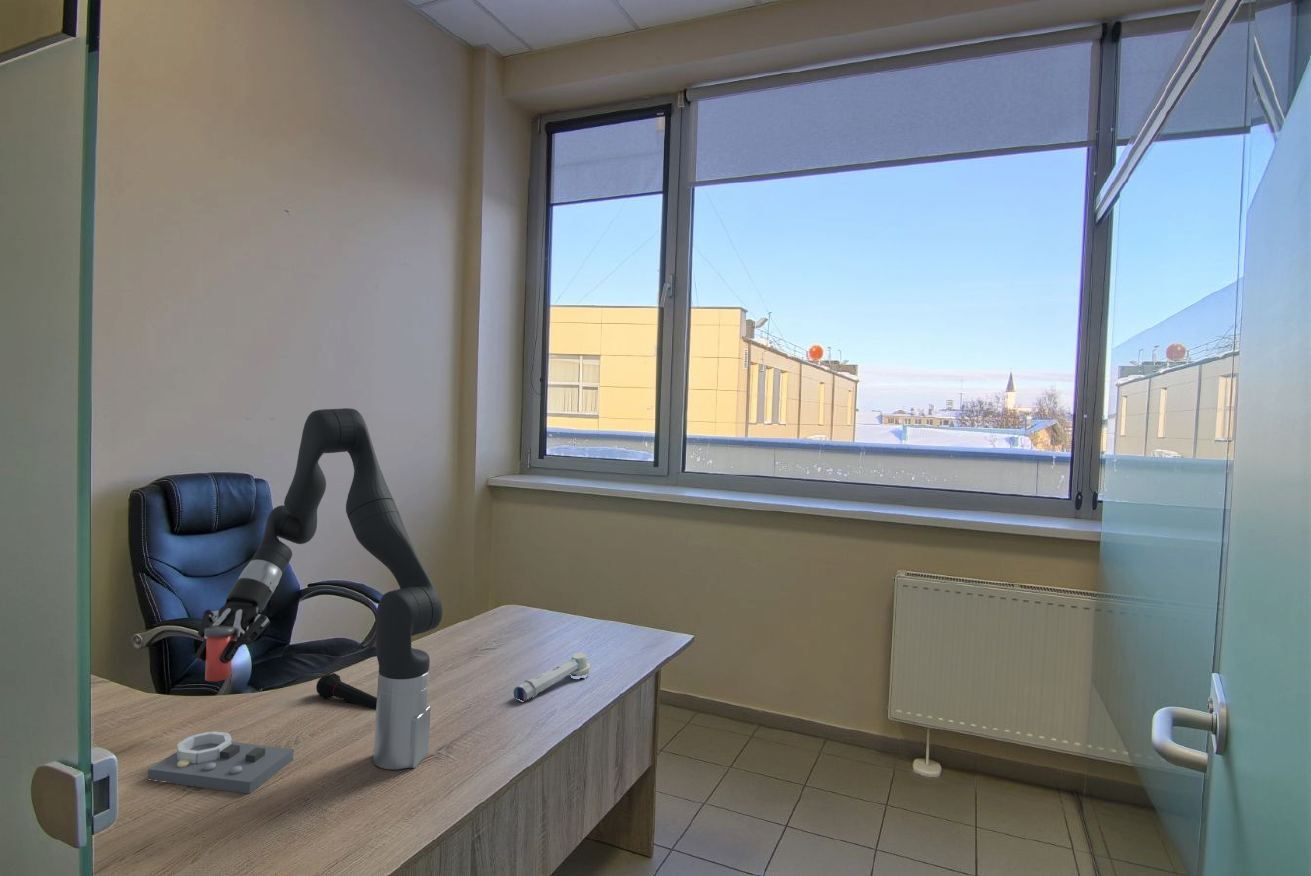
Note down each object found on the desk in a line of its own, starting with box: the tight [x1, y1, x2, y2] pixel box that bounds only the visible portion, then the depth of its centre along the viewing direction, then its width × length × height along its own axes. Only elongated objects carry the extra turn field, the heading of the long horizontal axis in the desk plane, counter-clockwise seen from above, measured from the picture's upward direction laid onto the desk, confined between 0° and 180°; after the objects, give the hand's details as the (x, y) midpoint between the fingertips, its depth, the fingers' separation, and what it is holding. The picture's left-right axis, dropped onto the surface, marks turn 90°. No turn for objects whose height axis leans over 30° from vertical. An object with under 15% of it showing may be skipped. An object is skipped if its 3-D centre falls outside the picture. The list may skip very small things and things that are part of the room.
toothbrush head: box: [513, 652, 592, 702], centre depth 174 cm, size 5×7×25 cm
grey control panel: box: [147, 730, 294, 794], centre depth 125 cm, size 19×12×4 cm, turn 84°
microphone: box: [316, 672, 377, 709], centre depth 157 cm, size 6×6×20 cm
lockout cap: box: [204, 624, 235, 682], centre depth 139 cm, size 5×5×10 cm
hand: (211, 660), depth 137 cm, fingers closed on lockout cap, 4 cm apart
